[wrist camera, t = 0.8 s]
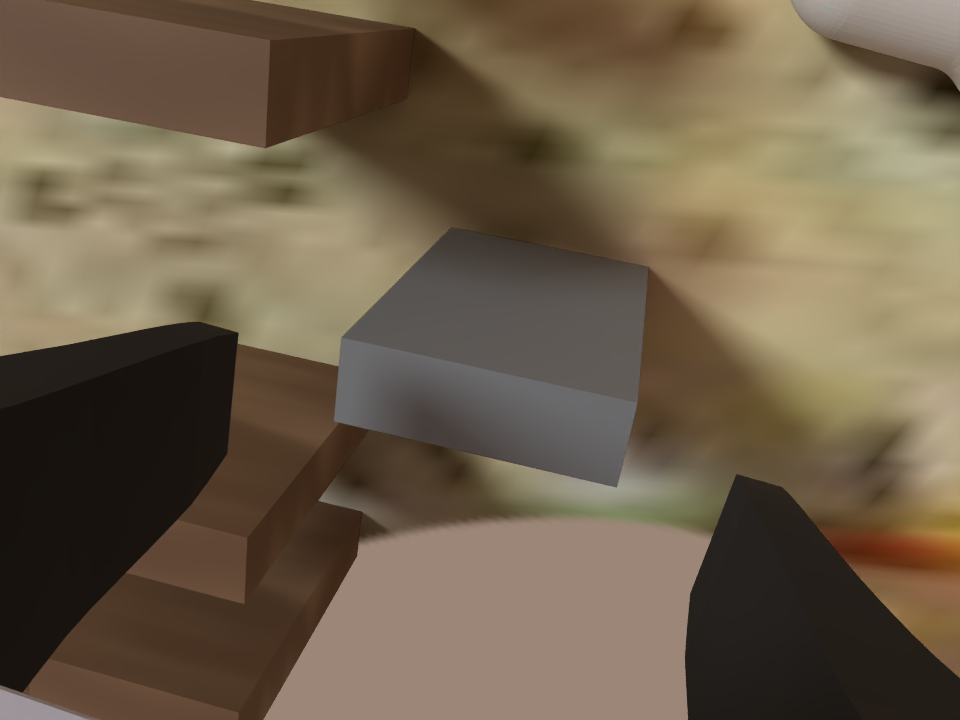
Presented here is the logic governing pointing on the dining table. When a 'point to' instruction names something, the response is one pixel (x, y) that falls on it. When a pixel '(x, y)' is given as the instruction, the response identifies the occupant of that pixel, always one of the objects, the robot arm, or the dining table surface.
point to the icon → (892, 28)
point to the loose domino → (503, 355)
